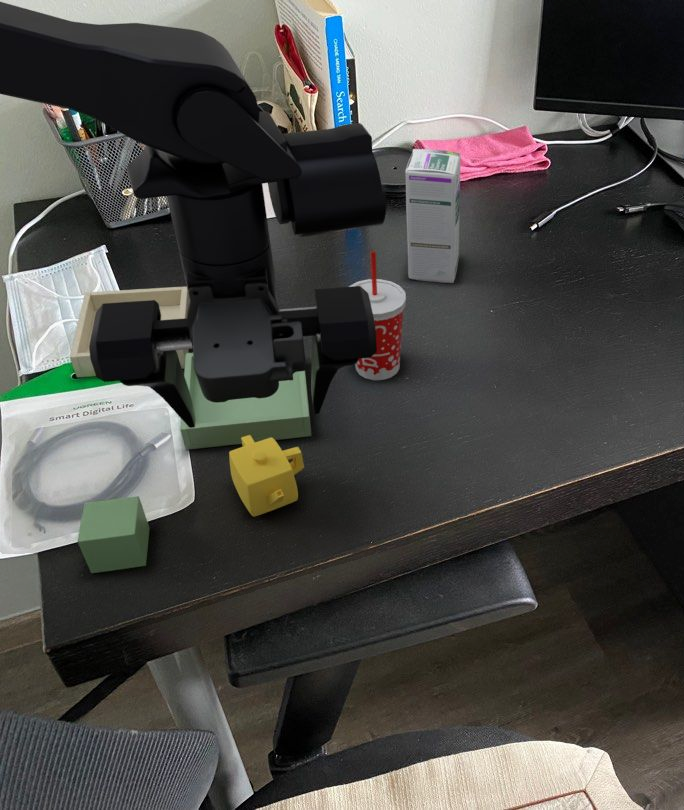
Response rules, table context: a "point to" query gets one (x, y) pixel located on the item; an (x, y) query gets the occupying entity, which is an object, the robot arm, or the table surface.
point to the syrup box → (433, 214)
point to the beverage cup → (383, 326)
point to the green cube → (114, 534)
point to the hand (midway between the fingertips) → (255, 417)
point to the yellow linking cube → (265, 474)
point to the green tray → (246, 414)
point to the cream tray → (169, 301)
